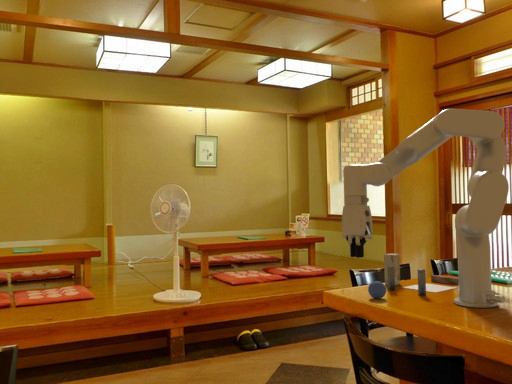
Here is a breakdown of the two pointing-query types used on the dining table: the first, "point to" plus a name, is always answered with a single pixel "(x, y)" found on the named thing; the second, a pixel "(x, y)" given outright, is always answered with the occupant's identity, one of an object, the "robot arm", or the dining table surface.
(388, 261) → the skincare box
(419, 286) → the near post
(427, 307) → the dining table surface
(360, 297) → the dining table surface
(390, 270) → the far post
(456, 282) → the strip
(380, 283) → the ball
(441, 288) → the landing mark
